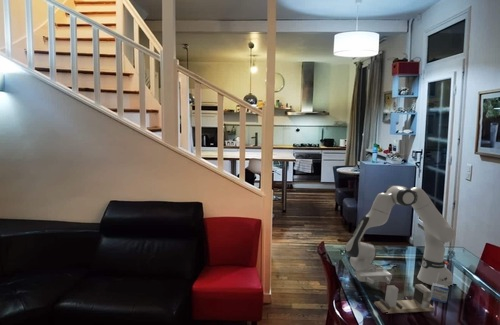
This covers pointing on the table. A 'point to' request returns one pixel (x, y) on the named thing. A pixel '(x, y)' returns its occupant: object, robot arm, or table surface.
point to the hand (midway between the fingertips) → (381, 282)
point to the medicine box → (439, 292)
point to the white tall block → (391, 295)
